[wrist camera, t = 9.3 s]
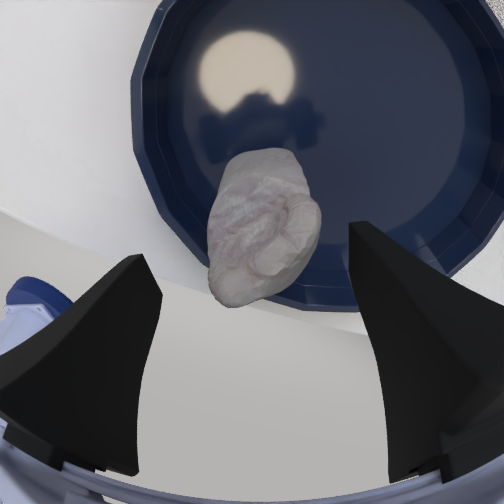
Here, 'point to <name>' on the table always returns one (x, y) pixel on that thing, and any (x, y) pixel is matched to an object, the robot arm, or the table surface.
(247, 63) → the round tray
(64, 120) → the table surface
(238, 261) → the fossil
